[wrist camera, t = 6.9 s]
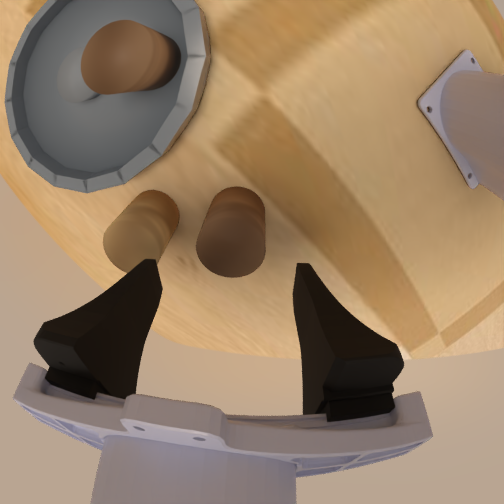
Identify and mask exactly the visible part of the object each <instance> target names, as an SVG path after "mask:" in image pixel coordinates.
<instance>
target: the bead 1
mask: <svg viewBox="0 0 504 504" xmlns="http://www.w3.org/2000/svg"><path fill="white" fill-rule="evenodd" d="M180 64H181V51H180V48H179V46H178V45H177V43H176V42H175V41H174V40H173V39H172V38H170V37H168V36H166V35H164V34H162V33H160V32H158V31H156V30H153V29H151V28H149V27H147V26H144V25H142V24H140V23H138V22H135V21H132V20H118V21H114V22H111V23H109V24H107V25H105V26H104V27H102V28H101V29H99V30H98V31H97V32H96V33H95V34H94V35H93V36H92V37H91V39H90V40H89V41H88V43H87V45H86V47H85V49H84V51H83V54H82V58H81V74H82V77H83V80H84V82H85V83H86V85H87V86H88V87H89V88H90V89H91V90H93V91H94V92H96V93H99V94H104V95H110V94H118V93H127V92H137V91H149V90H155V89H158V88H161V87H163V86H164V85H166V84H167V83H169V82H170V81H171V80H172V79H173V78H174V76H175V75H176V73H177V72H178V70H179V67H180Z"/></svg>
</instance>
